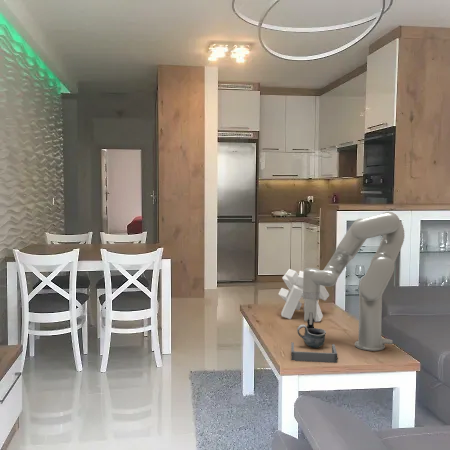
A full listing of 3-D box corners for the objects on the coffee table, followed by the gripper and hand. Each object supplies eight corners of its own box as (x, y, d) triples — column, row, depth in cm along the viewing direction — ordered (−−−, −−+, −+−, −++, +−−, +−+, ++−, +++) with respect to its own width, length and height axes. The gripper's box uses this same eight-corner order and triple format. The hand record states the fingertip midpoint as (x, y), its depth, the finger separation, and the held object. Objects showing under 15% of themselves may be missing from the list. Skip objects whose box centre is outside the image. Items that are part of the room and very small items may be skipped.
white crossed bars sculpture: (276, 316, 290) (258, 267, 277) (322, 296, 292) (306, 246, 278) (296, 349, 258) (277, 296, 244) (347, 327, 260) (331, 272, 246)
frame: (334, 352, 207) (334, 344, 207) (337, 362, 194) (337, 354, 194) (291, 350, 209) (291, 342, 209) (291, 360, 196) (291, 352, 196)
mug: (329, 349, 211) (330, 326, 210) (303, 352, 208) (303, 329, 207) (319, 341, 220) (319, 320, 219) (293, 344, 217) (293, 322, 216)
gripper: (302, 291, 228) (301, 330, 230) (302, 298, 214) (301, 339, 215) (319, 292, 227) (318, 331, 228) (320, 299, 212) (319, 340, 214)
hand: (310, 335), depth 222 cm, fingers closed
